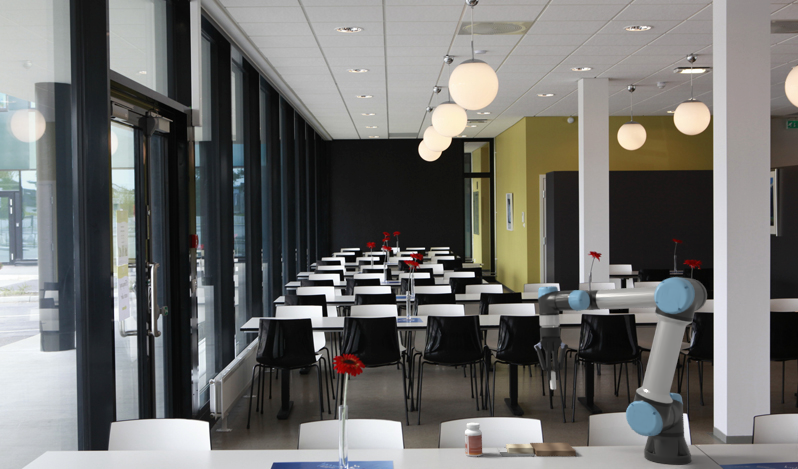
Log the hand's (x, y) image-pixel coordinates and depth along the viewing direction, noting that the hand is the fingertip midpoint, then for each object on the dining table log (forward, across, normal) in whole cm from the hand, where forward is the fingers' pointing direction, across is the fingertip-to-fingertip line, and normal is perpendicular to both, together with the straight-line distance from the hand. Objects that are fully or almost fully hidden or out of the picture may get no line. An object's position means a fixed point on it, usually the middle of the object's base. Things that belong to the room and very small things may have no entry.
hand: (553, 388), depth 232 cm
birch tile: (+22, +15, +4) cm, 27 cm away
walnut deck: (+22, +3, +5) cm, 23 cm away
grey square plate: (+22, +16, +4) cm, 28 cm away
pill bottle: (+22, +32, +7) cm, 40 cm away
